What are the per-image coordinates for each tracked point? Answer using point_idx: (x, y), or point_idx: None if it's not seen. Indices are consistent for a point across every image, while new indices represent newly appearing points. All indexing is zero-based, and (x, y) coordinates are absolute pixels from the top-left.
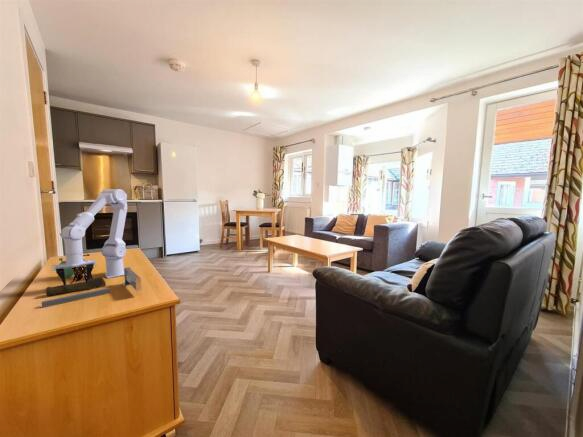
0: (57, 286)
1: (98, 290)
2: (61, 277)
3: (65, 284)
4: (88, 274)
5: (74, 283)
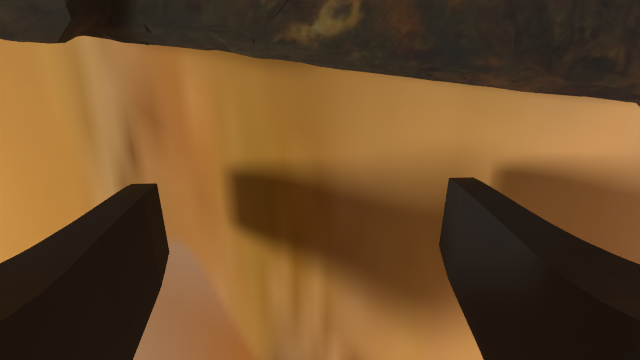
0: (634, 17)
1: None
2: (594, 256)
3: (463, 181)
4: (63, 251)
5: (343, 38)
